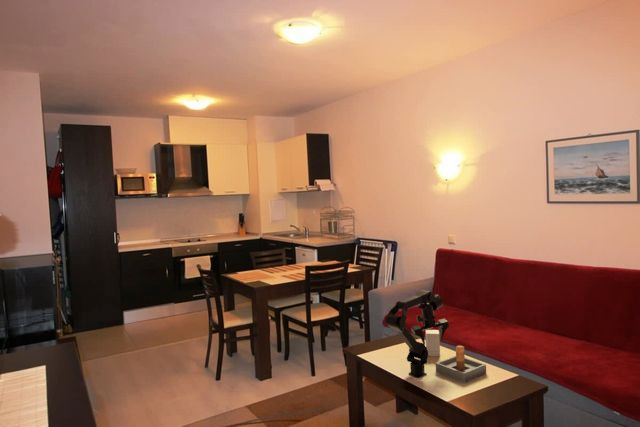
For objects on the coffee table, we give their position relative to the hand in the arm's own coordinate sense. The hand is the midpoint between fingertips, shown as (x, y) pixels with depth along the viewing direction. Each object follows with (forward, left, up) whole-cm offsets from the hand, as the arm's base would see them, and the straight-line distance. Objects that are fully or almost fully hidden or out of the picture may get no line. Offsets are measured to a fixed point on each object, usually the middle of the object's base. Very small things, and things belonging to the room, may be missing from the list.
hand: (432, 342), depth 225 cm
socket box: (+5, -13, -13) cm, 19 cm away
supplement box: (+14, +13, -13) cm, 23 cm away
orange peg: (+5, -13, -13) cm, 19 cm away
